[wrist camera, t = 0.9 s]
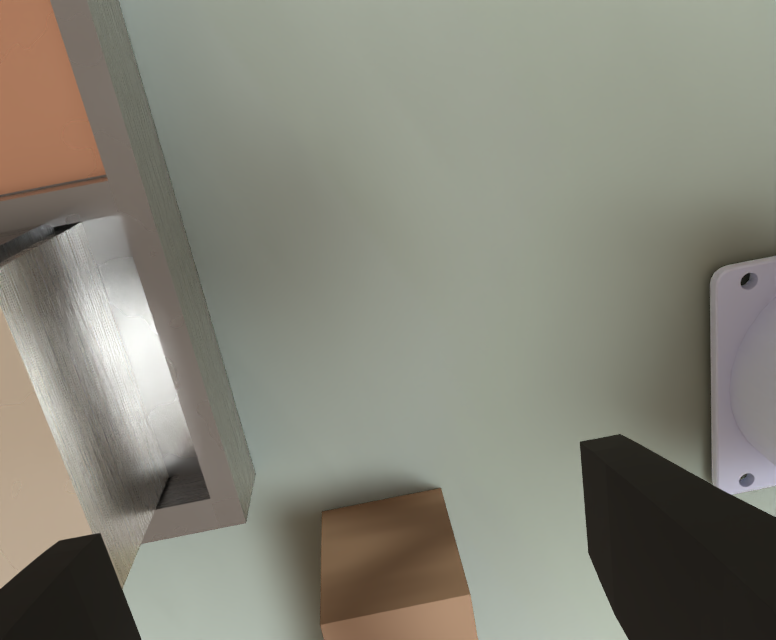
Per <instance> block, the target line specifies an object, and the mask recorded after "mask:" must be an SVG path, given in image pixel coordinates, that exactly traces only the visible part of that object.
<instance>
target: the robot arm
mask: <svg viewBox="0 0 776 640" xmlns="http://www.w3.org/2000/svg"><path fill="white" fill-rule="evenodd" d="M747 273H750V278H749V281H748V282H747V283H746V284H745V285H742V286H741V284H740V282H741V279H742V277H743V276H744V275H745V274H747ZM710 340H711V441H712V483H713V485H712V484H710V483H708V482H706V481H705V480H703V479H701V478H699V477H697V476H695V475H694V474H692V473H690V472H688V471H686V470H685V469H683V468H681V467H679V466H678V465H676V464H674V463H672V462H670V461H669V460H667V459H665V458H663V457H661V456H660V455H658V454H656V453H654V452H653V451H651V450H649V449H647V448H645V447H644V446H642V445H640V444H638V443H636V442H634V441H632V440H631V439H629V438H627V437H625V436H623V435H621V434H619V435H613V436H608V437H603V438H598V439H592V440H587V441H582V442H580V450H581V463H582V476H583V489H584V502H585V515H586V527H587V540H588V553H589V556H590V558H591V560H592V563H593V565H594V568H595V570H596V572H597V575H598V577H599V580H600V582H601V584H602V587H603V589H604V591H605V594H606V596H607V598H608V600H609V603H610V605H611V607H612V610H613V612H614V614H615V616H616V618H617V620H618V621H619V623H620V625H621V627H622V629H623V630H624V632H625V634H626V636H627V637H628V639H629V640H776V517H774V516H772V515H770V514H768V513H766V512H764V511H762V510H760V509H758V508H756V507H754V506H752V505H750V504H748V503H746V502H744V501H742V500H740V499H738V498H736V497H735V496H733V494H738V493H743V492H748V491H753V490H758V489H763V488H768V487H773V486H776V256H771V257H766V258H761V259H756V260H751V261H746V262H741V263H736V264H731V265H726V266H723V267H721V268H719V269H718V270H717V271H716V272H715V273H714V274H713V276H712V278H711V282H710ZM744 474H747V476H746V477H745V478H744V479H742V480H740V478H741V477H742V476H743V475H744ZM0 640H141V637H140V634H139V632H138V629H137V627H136V624H135V621H134V619H133V616H132V614H131V611H130V608H129V606H128V603H127V601H126V598H125V596H124V593H123V590H122V588H121V585H120V583H119V580H118V577H117V575H116V572H115V570H114V567H113V564H112V562H111V559H110V557H109V554H108V551H107V549H106V546H105V544H104V541H103V538H102V536H101V533H96V534H91V535H85V536H80V537H75V538H70V539H64V540H59V541H58V542H57V543H55V544H54V545H53V546H51V547H50V548H48V549H47V550H46V551H45V552H43V553H42V554H41V555H40V556H38V557H37V558H36V559H35V560H33V561H32V562H31V563H30V564H29V565H27V566H26V567H25V568H24V569H23V570H22V571H20V572H19V573H18V574H17V575H16V576H15V577H13V578H12V579H11V580H10V581H9V582H8V583H6V584H5V585H4V586H3V587H2V588H1V589H0Z"/></svg>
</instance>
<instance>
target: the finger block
mask: <svg viewBox="0 0 776 640" xmlns="http://www.w3.org/2000/svg"><path fill="white" fill-rule="evenodd" d="M320 626H321V630H322V634H323V637H324V640H478V637H477V631H476V625H475V619H474V614H473V608H472V602H471V596H470V592H469V588H468V584H467V581H466V577H465V573H464V570H463V566H462V563H461V559H460V555H459V552H458V548H457V544H456V541H455V537H454V534H453V530H452V526H451V523H450V519H449V516H448V512H447V508H446V505H445V501H444V497H443V494H442V490H441V488H438V489H433V490H428V491H423V492H418V493H413V494H408V495H403V496H398V497H393V498H388V499H383V500H378V501H372V502H367V503H362V504H357V505H352V506H347V507H342V508H337V509H332V510H327V511H322V533H321V599H320Z"/></svg>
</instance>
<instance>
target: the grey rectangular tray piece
mask: <svg viewBox="0 0 776 640" xmlns="http://www.w3.org/2000/svg"><path fill="white" fill-rule="evenodd" d="M255 475H256V474H255V470H254V467H253V464H252V460H251V457H250V453H249V450H248V446H247V443H246V439H245V436H244V433H243V429H242V426H241V422H240V419H239V415H238V412H237V408H236V405H235V401H234V398H233V395H232V391H231V388H230V384H229V381H228V377H227V374H226V370H225V367H224V364H223V360H222V357H221V353H220V350H219V346H218V343H217V339H216V336H215V332H214V329H213V326H212V322H211V319H210V315H209V312H208V308H207V305H206V301H205V298H204V294H203V291H202V288H201V284H200V281H199V277H198V274H197V270H196V267H195V263H194V260H193V257H192V253H191V250H190V246H189V243H188V239H187V236H186V232H185V229H184V225H183V222H182V219H181V215H180V212H179V208H178V205H177V201H176V198H175V194H174V191H173V188H172V184H171V181H170V177H169V174H168V170H167V167H166V163H165V160H164V156H163V153H162V150H161V146H160V143H159V139H158V136H157V132H156V129H155V125H154V122H153V119H152V115H151V112H150V108H149V105H148V101H147V98H146V94H145V91H144V87H143V84H142V81H141V77H140V74H139V70H138V67H137V63H136V60H135V56H134V53H133V50H132V46H131V43H130V39H129V36H128V32H127V29H126V25H125V22H124V18H123V15H122V12H121V8H120V5H119V1H118V0H0V589H1V588H2V587H3V586H4V585H5V584H6V583H8V582H9V581H10V580H11V579H12V578H13V577H15V576H16V575H17V574H18V573H19V572H20V571H22V570H23V569H24V568H25V567H26V566H27V565H29V564H30V563H31V562H32V561H33V560H35V559H36V558H37V557H38V556H40V555H41V554H42V553H43V552H45V551H46V550H47V549H48V548H50V547H51V546H53V545H54V544H55V543H57V542H58V541H59V540H64V539H70V538H75V537H80V536H85V535H91V534H96V533H101V536H102V538H103V541H104V544H105V546H106V549H107V551H108V554H109V557H110V559H111V562H112V564H113V567H114V570H115V572H116V575H117V577H118V580H119V583H120V585H121V588H122V589H123V586H124V584H125V582H126V579H127V577H128V574H129V572H130V569H131V567H132V565H133V562H134V560H135V557H136V555H137V552H138V550H139V548H140V545H141V544H143V543H148V542H153V541H158V540H163V539H168V538H173V537H178V536H183V535H188V534H193V533H198V532H203V531H208V530H213V529H218V528H223V527H228V526H233V525H238V524H243V523H246V521H247V516H248V511H249V506H250V500H251V495H252V490H253V485H254V480H255Z"/></svg>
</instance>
